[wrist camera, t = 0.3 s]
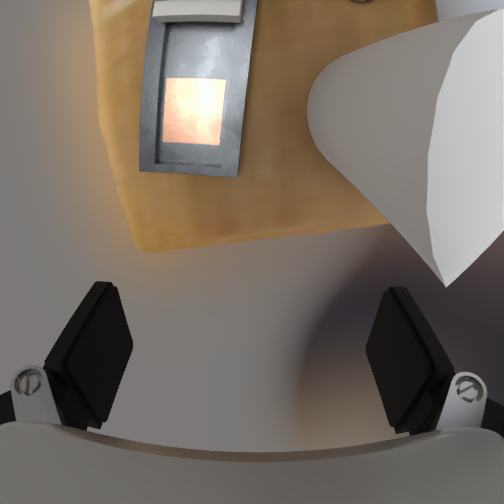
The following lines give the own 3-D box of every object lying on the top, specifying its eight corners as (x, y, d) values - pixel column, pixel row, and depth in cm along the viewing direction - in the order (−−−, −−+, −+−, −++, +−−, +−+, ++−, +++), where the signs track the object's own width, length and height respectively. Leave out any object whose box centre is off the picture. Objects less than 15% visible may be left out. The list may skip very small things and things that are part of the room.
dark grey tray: (164, -20, 25) (158, -28, 22) (260, -20, 25) (261, -28, 23) (147, 165, 37) (139, 171, 35) (238, 171, 38) (236, 177, 35)
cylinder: (277, 111, 34) (338, 148, 10) (370, 27, 28) (534, -30, 3) (366, 204, 40) (483, 353, 15) (447, 126, 34) (610, 196, 9)
